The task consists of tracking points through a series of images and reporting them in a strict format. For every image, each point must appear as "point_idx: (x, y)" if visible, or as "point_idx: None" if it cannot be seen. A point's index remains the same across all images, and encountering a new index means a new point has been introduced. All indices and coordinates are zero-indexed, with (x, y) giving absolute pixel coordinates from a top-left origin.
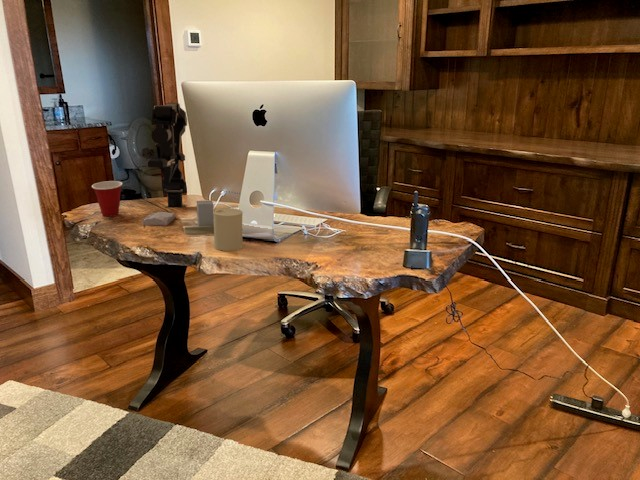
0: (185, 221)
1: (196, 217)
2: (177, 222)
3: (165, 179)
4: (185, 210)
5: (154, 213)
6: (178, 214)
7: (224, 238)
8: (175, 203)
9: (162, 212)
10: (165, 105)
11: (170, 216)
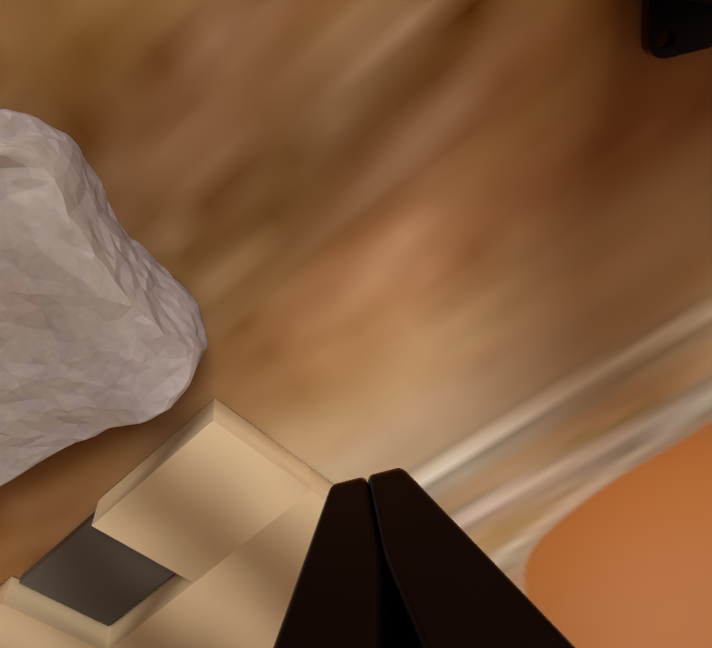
0: (143, 529)
1: None
2: None
3: (303, 596)
4: (655, 136)
5: (3, 164)
6: (443, 194)
7: None
8: (700, 1)
9: (65, 290)
10: None
11: (4, 483)
